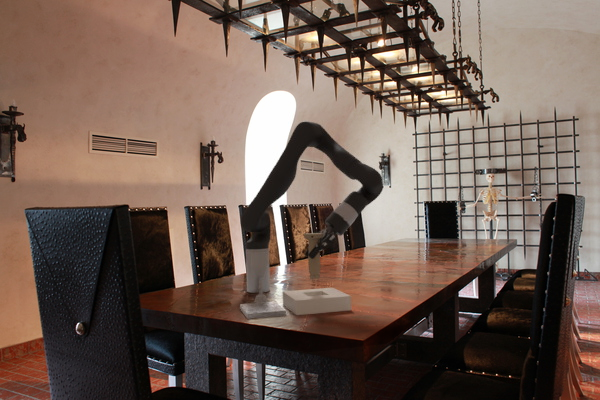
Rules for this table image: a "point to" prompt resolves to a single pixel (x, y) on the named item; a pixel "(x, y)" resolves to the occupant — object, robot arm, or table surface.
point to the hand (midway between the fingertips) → (308, 256)
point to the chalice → (260, 270)
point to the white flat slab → (262, 310)
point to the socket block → (316, 301)
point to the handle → (315, 263)
